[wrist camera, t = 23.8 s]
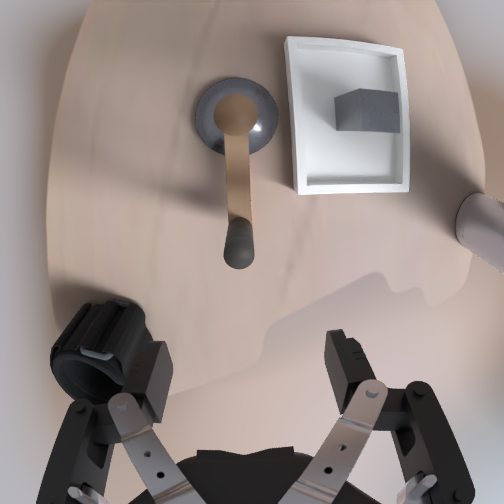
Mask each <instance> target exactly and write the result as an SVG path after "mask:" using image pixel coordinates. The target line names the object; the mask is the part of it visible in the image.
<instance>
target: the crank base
mask: <svg viewBox="0 0 504 504" xmlns="http://www.w3.org/2000/svg"><path fill="white" fill-rule="evenodd" d="M231 94H241V95H244V96H247V97H248V98H250V99H251V100H252V101H253V102H254V103H255V105H256V107H257V110H258V119H257V122H256V125H255V126H254V128H253V129H252V130H251V131H250V132H248V134H249V154H252V153H254V152H256V151H258V150H260V149H261V148H263V147H264V146H265V145H266V144H267V143H268V142H269V141H270V140H271V138H272V136H273V135H274V133H275V130H276V128H277V123H278V110H277V106H276V103H275V101H274V99H273V97H272V96H271V94H270V93H269V92H268V91H267V90H266V89H265V88H264V87H263V86H261V85H260V84H258V83H256V82H254V81H251V80H248V79H242V78H232V79H227V80H223V81H221V82H218V83H216V84H215V85H213V86H212V87H210V88H209V89H208V90H207V91H206V92H205V93H204V94H203V96H202V97H201V99H200V101H199V103H198V105H197V109H196V114H195V122H196V127H197V131H198V133H199V135H200V137H201V138H202V140H203V141H204V142H205V144H206V145H207V146H209V147H210V148H211V149H213V150H214V151H216V152H218V153H220V154H223V155H225V141H224V133H223V132H222V131H220V130H219V129H218V127H217V126H216V124H215V122H214V117H213V114H214V109H215V107H216V105H217V103H218V102H219V101H220V100H221V99H222V98H224V97H226V96H228V95H231ZM251 225H252V215H251ZM252 230H253V228H252Z"/></svg>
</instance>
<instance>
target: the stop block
mask: <svg viewBox="0 0 504 504" xmlns="http://www.w3.org/2000/svg"><path fill="white" fill-rule="evenodd" d="M334 103H335V118H336V131H360V132H385V133H400V112H399V97H398V93H397V92H390V91H382V90H372V89H362V88H360V89H357V90H354V91H351V92H348V93H345V94H343V95H340V96H337V97H334Z"/></svg>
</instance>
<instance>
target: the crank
mask: <svg viewBox="0 0 504 504" xmlns="http://www.w3.org/2000/svg"><path fill="white" fill-rule="evenodd" d="M213 117H214V122H215V124H216V126H217V127H218V129H219V130H220V131H222V132H223V133H224V141H225V164H226V185H227V204H228V222H229V226H228V231H227V236H226V242H225V248H224V260H225V262H226V263H227V264H228V265H229V266H230V267H232V268H235V269H244V268H246V267H248V266H249V265H250V264H251V263H252V262H253V260H254V242H253V230H252V225H251V198H250V166H249V134H248V132H250V131H251V130H252V129H253V128H254V126H255V125H256V122H257V119H258V110H257V107H256V105H255V103H254V102H253V101H252V100H251V99H250V98H248V97H247V96H244V95H241V94H231V95H228V96H226V97H224V98H222V99H221V100H220V101H219V102H218V103H217V105H216V107H215V109H214V114H213Z"/></svg>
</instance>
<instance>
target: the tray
mask: <svg viewBox="0 0 504 504" xmlns="http://www.w3.org/2000/svg"><path fill="white" fill-rule="evenodd" d="M284 53H285V64H286V75H287V86H288V99H289V112H290V127H291V144H292V162H293V184H294V191H295V192H296V193H297V194H298V195H309V194H333V193H370V192H409V177H410V123H409V104H408V91H407V80H406V71H405V63H404V55H403V49H399V48H394V47H389V46H384V45H378V44H372V43H366V42H359V41H351V40H342V39H332V38H318V37H295V36H287V38H286V40H285V42H284ZM360 88H362V89H372V90H382V91H390V92H397V93H398V97H399V112H400V133H385V132H360V131H336V118H335V103H334V97H337V96H340V95H343V94H345V93H348V92H351V91H354V90H357V89H360Z"/></svg>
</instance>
